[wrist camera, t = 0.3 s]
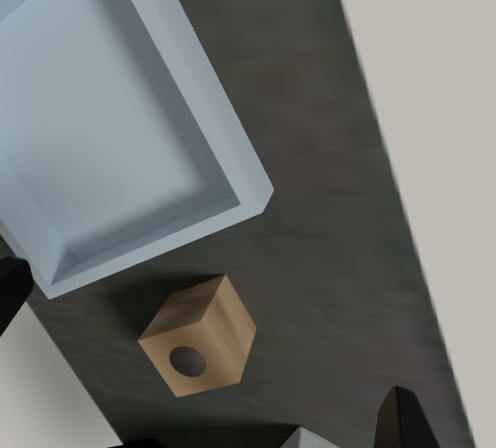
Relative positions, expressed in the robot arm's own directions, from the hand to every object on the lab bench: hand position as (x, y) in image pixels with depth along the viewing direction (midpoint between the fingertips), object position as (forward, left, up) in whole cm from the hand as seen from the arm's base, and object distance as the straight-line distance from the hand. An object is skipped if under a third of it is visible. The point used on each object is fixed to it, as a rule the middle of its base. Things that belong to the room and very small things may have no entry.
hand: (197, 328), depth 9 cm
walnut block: (-9, -7, -15) cm, 19 cm away
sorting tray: (-9, +7, -14) cm, 18 cm away
